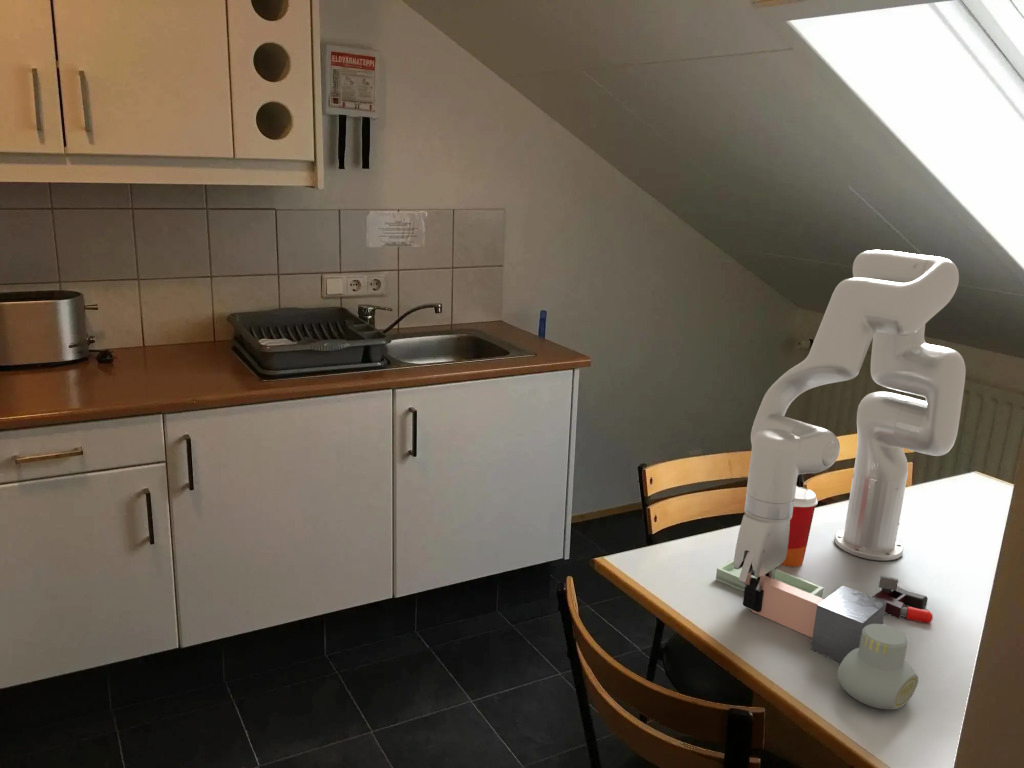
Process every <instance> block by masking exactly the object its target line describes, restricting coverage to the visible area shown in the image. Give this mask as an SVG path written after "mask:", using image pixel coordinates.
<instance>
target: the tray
mask: <svg viewBox="0 0 1024 768" xmlns="http://www.w3.org/2000/svg"><path fill="white" fill-rule="evenodd" d="M733 564H734V558H732V559H730V560H729V561H728V562H726V563H723V564H722V565H720V566H719V567H717V568H716V576H715V580H716V581H717V582H721V583H723V584H725V585H728V586H730V587H733V588H735V589H737V590H740V591H742V592H744V590H745V586H744V583H741V582H739V577H740V574H741V570H742V567H741V568H740V569H735V568H734V566H733ZM751 577H753V578H757V577H755V576H753V575H751ZM774 579H775V580H778V581H780V582H783V583H785V584H788V585H790V586H793V587H795V588H798V589H800V590H803V591H805V592H808V593H810V594H813V595H815V596H818V597H820V598H823V595H824V586H821V585H819V584H816V583H814V582H812V581H808V580H806V579H804V578H801V577H798V576H796V575H793V574H791V573H788V572H786V571H783V570H781V569H779V568H777V570H776V571H775V578H774Z"/></svg>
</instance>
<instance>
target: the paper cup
mask: <svg viewBox="0 0 1024 768" xmlns="http://www.w3.org/2000/svg"><path fill="white" fill-rule="evenodd" d="M817 505H818V499H817V495H816V493H815V492H814V491H813V490H812V489H807V488H806V487H802V486H798V485H796V492H795V498H794V506H793V514H792V518H791V520H790V530H789V541H788V549H787V554H786V558H785V560H784V562H783V563H782V564H780V565H779V566H783V567H786V568H799V567H800V566H801V567H802V565H803V562H804V558H805V555H806V551H807V547H808V541H809V536H810V531H811V529H812V528H811V527H812V523H813V518H814V513H815V507H816V506H817Z"/></svg>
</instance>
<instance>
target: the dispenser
mask: <svg viewBox="0 0 1024 768" xmlns="http://www.w3.org/2000/svg"><path fill="white" fill-rule="evenodd" d="M823 599H824V600H823V601H822V602H820V603H819V604H818V605H817V610H816V617H815V623H814V630H813V637H812V638H811V644H810V651H812V652H815V653H817V654H818V655H819V654H820V655H821V656H824V657H826V658H828V659H831V660H833V661H835V662H837V663H838V664H839V663H840V664H841V662H842V661H843V659H844V658H845V657H846V656H847V654H849V653H850V652H851V651H852V650H854V649H856V648H859V646H860V640H861V635H862V629H863V628H864V627H865V626H867V625H870V624H884V620H885V614H886V613H885V609H886V603H887V602H884V601H881V600H879V599H876V598H874V597H872V595H868V594H866V593H864V592H861V591H857V590H855V589H852V588H850V587H848V586H845V585H841V586H840V587H838V588H837V589H836V590H834V591H833V592H832V593H831V594H830V595H828V596H827V597H826V598H823Z"/></svg>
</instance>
